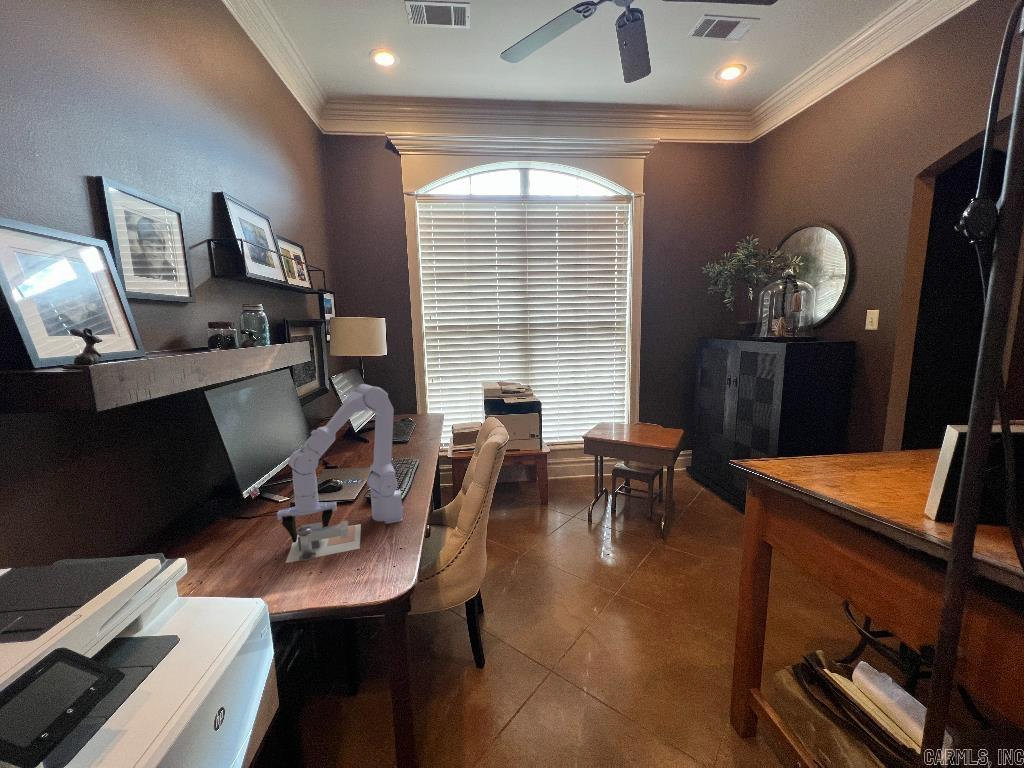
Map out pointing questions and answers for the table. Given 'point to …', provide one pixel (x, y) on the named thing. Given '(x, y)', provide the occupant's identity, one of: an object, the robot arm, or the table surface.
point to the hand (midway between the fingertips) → (310, 537)
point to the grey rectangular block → (314, 543)
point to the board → (329, 545)
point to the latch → (320, 535)
